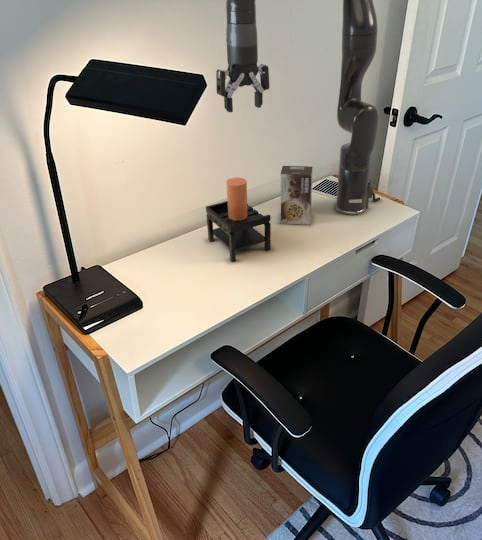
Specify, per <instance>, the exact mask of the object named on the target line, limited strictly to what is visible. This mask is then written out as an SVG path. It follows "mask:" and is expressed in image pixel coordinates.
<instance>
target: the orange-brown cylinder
mask: <svg viewBox="0 0 482 540" xmlns="http://www.w3.org/2000/svg"><path fill="white" fill-rule="evenodd" d="M247 182H248V181H247V179H246V178H243V177H231V178H227V180H226V182H225V183H226V198H227V199H226V201H227V203H228V217H229V218H230V219H231V220H243V219H246V218H247V216H248V213H247V204H248V185H247Z"/></svg>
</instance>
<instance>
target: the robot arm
mask: <svg viewBox="0 0 482 540" xmlns="http://www.w3.org/2000/svg"><path fill="white" fill-rule="evenodd" d="M256 6H257V5H256V0H226V1H225V12H226V15H225V16H226V31H225V35H226V36H225V37H226V40H225V41H226V57H227V69H225V70H223V69H217V70H215V71H216V74H215V75H216V79H215V80H216V86H215V87H216V95H219V96H221V97H223V103H224V105H223V106H224V109H225V110H226V112H227V113H233V112H234V107H233V106H234V105H233V97H232V96H233V95H234V93H235V91H237V90H238V88H239V87H240V88H243V87H244V86H252V88H253V90H255V91H254V93H253V94H254V107H255V108H257V109H260V108H262V106H263V103H264V101H263V97H264V92H265V91H267V90H270V71H269V66H268V65H267V64H264V63H261V64H259V65H258V62H259V61H258V60H259V59H258V58H259V57H258V56H259V54H258V52H259V51H258V27H257V7H256ZM376 12H377V11H376V8H375V5H374V0H342V24H341V25H342V26H341V66H340V85H339V94H338V102H337V110H336V112H337V113H336V121H337V125H338V126H339V127H340V129H341V130H343V131H345V132H347V133H350V134H351V137H350V142H347V143H343V144H342V145H341V146H340V149H339V161H338V175H337V189H336V203H335V210H336V211H338V212H339V213H340V214H344V215H350V216H354V215H355V216H356V215H360V214H363V213H364V212H366V210H367V209H368V208H369V200H370V199H372V201H373V202H376V203H377V202H378V201H380V200H381V198H380V197H376V193H375V191H374V188H373V187H372V188H371V183H372V182H371V180H370V179H369V178H370V168H371V159H372V152H373V151H374V148H375V146H376V140H377V133H378V129H379V119H380V116H379V110H378V108H377V107H376V106H375V105H373V104H371V103H368V102H365V101H362V88H363V87H362V85H363V81H364V77H365V75H366V73H367V71H368V69H369V68H370V67H371V64H372V62H373V60H374V58H375V56H376V51H377V45H378V43H377V42H378V17H377V13H376ZM258 74H259V80H260V81H259V80H258V78H257V75H258ZM227 78H228V81H227V83H226V80H227Z"/></svg>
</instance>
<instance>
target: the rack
mask: <svg viewBox="0 0 482 540" xmlns="http://www.w3.org/2000/svg"><path fill="white" fill-rule="evenodd" d="M205 212H206V214H205V215H206V227H207V240H208V241H209V242H214V241H215V238H217V239H218V240H219V241H220V242H221V243H222V244H223V245H224V246H226V248H228V249H229V261H230V262H231V263H234V262H237V251H240V250H243V249H247V248H250V247H252V246H256V245H259V244H262V243H264V250H265V251H266V252H268V251H271V248H272V247H271V246H272V245H271V242H272V241H271V239H272V237H271V236H272V235H271V232H272V231H271V219H272V218H271V214H265V215H263V214H262V213H260V212H259V211H258V210H256V209H254V207H252V206H251V205H249V204H248V203H247V213H248V216H247V218H246V219H243V220H231V219H230V218H229V217H228V203H227V200H225V201H222V202H217V203H215V204H210V205H207V206H205ZM214 224H215V225H216V226H217V228H214ZM262 225H264V235H263V234H262V233H260V232H259V231H258V230H256V228H255V227H259V226H262ZM214 237H215V238H214Z"/></svg>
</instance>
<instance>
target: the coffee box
mask: <svg viewBox="0 0 482 540" xmlns="http://www.w3.org/2000/svg"><path fill="white" fill-rule="evenodd" d="M279 175H280V224H282V225H306V226H309V225H311V222H312V199H313V166H308V165H307V166H306V165H305V166H304V165H282V166H281V170H280V174H279Z"/></svg>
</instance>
